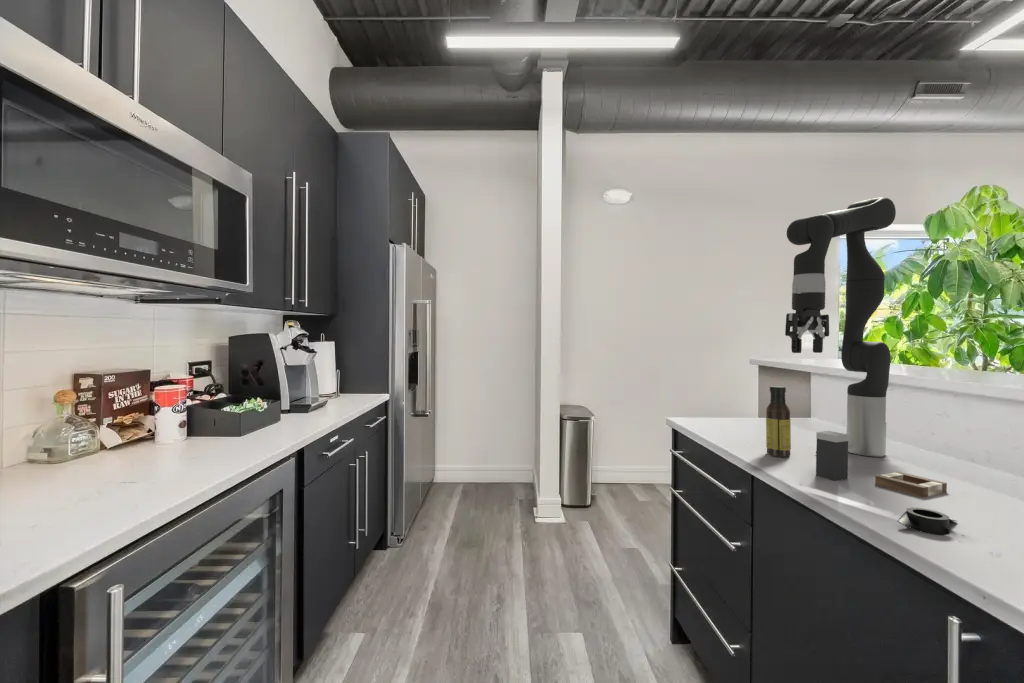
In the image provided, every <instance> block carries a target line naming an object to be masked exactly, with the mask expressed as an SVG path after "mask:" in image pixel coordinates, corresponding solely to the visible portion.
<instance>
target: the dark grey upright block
mask: <svg viewBox="0 0 1024 683" xmlns="http://www.w3.org/2000/svg"><path fill="white" fill-rule="evenodd" d="M848 441H849V435H848V434H846V433H843V432H837V431H832V430H823V431H817V432H816V448H815V449H816V451H815V457H816V458H815V460H816V461H815V476H816V477H819V478H824V479H827V480H831V481H834V482H838V481H843V480H848V476H849V473H848V472H849V471H848V470H849V466H848V465H849V452H848Z"/></svg>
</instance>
